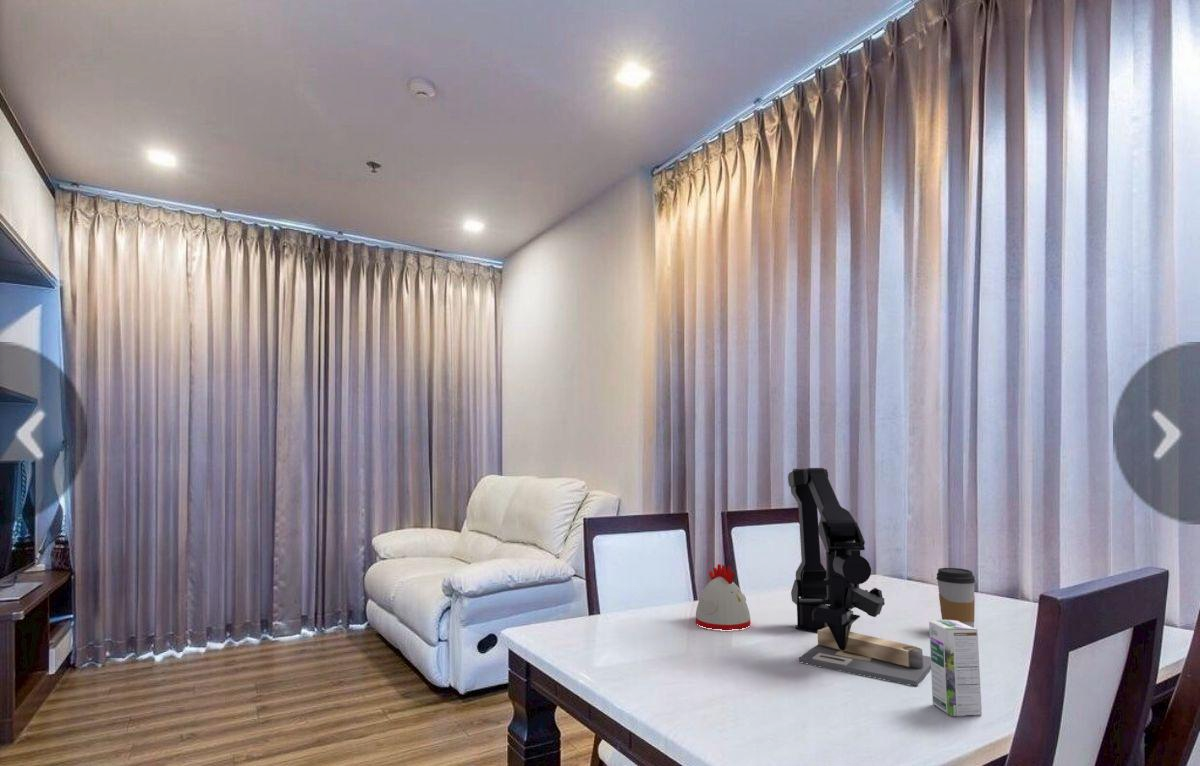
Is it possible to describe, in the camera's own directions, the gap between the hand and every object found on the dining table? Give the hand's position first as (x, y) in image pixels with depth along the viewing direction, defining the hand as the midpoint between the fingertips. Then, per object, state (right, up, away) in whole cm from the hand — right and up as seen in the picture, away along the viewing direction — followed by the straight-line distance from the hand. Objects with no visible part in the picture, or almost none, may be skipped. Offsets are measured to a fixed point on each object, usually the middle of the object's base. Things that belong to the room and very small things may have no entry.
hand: (842, 649), depth 139 cm
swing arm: (+6, -1, -1) cm, 6 cm away
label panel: (+4, -2, -2) cm, 5 cm away
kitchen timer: (-20, -5, +29) cm, 35 cm away
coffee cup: (+35, -4, +17) cm, 39 cm away
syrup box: (+10, 0, -27) cm, 28 cm away
